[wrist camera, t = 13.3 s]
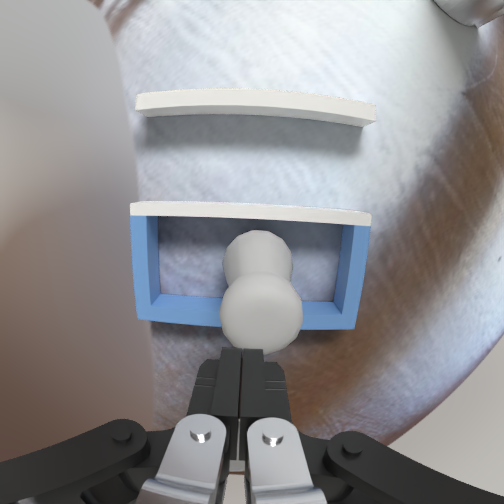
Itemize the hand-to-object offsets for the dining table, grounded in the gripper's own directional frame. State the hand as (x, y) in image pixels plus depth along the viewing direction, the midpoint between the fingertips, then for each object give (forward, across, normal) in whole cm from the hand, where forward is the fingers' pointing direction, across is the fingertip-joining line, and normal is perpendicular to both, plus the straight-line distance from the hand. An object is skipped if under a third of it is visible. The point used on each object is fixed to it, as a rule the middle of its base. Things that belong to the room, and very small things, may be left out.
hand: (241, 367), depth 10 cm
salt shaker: (+16, -1, 0) cm, 16 cm away
